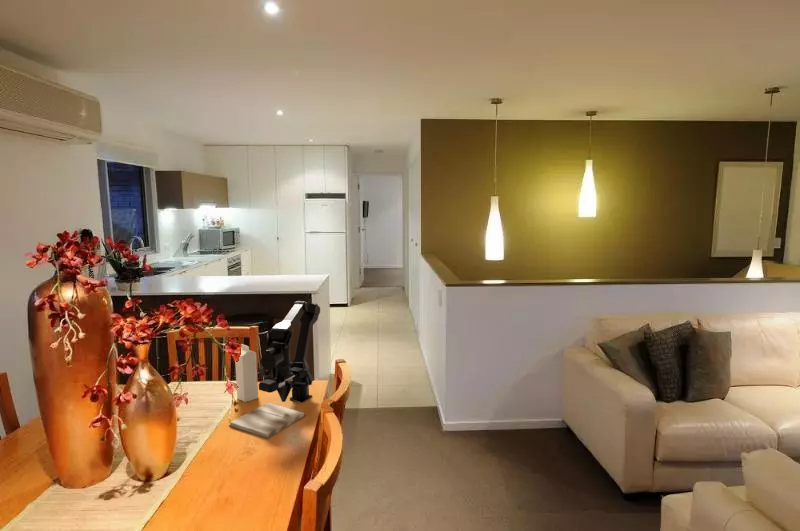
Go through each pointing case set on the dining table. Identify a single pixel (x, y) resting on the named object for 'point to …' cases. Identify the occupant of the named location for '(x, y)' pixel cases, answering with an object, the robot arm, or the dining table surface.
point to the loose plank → (281, 411)
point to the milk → (246, 375)
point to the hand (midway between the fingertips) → (283, 401)
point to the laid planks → (261, 423)
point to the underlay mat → (263, 436)
